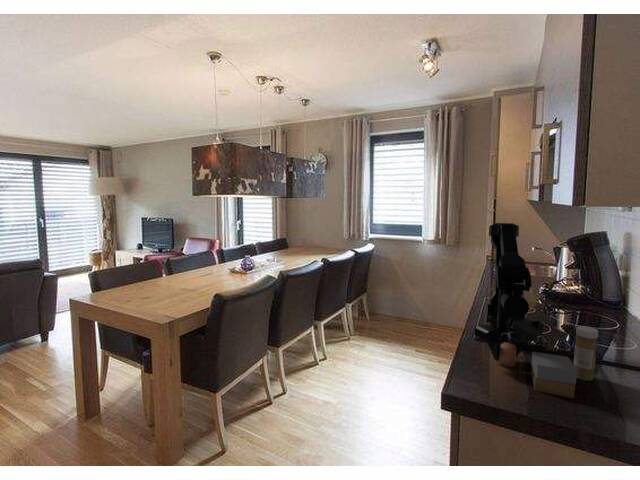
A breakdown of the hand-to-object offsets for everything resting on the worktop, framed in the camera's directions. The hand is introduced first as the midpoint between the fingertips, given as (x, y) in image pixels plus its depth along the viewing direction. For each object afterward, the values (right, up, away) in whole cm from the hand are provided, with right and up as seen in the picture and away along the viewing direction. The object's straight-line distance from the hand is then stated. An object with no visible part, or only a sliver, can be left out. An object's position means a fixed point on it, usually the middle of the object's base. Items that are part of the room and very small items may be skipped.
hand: (505, 358), depth 101 cm
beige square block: (+5, -3, -13) cm, 14 cm away
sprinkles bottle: (+16, -2, -8) cm, 18 cm away
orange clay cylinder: (0, -1, 0) cm, 1 cm away
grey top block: (+5, 0, -13) cm, 14 cm away
